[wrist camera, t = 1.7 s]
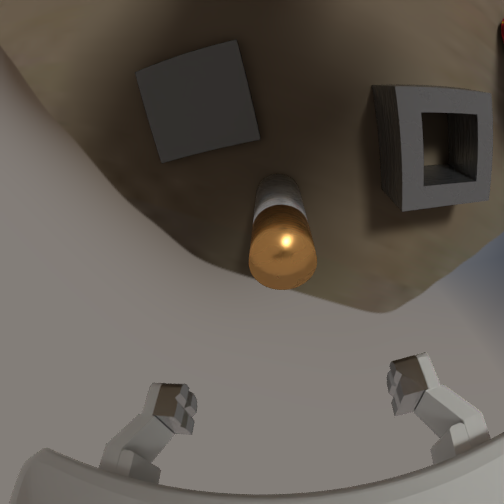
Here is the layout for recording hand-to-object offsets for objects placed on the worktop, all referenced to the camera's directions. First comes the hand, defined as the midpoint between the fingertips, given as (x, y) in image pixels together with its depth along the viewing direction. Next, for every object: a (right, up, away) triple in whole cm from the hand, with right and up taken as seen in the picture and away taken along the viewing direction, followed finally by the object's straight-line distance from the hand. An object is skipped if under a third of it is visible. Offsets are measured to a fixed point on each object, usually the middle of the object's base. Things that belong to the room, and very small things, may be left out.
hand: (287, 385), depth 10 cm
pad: (-6, +18, +11) cm, 22 cm away
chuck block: (+15, +16, +11) cm, 25 cm away
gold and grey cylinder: (+1, +10, +16) cm, 19 cm away
